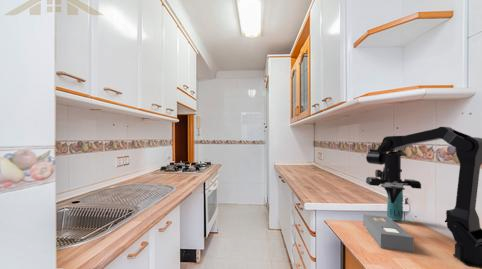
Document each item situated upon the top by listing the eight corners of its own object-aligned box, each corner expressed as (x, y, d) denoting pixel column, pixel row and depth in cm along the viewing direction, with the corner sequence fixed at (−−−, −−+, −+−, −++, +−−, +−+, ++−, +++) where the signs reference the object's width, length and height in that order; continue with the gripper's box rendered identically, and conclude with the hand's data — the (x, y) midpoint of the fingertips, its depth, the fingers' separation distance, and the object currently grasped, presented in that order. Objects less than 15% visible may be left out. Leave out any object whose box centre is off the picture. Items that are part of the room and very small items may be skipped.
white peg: (394, 241, 84) (395, 228, 84) (399, 246, 80) (399, 233, 80) (382, 240, 85) (383, 227, 85) (387, 244, 81) (387, 231, 81)
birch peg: (383, 229, 96) (383, 218, 96) (386, 233, 92) (386, 221, 92) (372, 228, 97) (372, 217, 97) (375, 232, 93) (375, 220, 93)
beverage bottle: (387, 221, 106) (387, 179, 107) (386, 217, 112) (386, 177, 113) (404, 224, 103) (404, 180, 104) (401, 220, 109) (402, 178, 110)
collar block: (388, 228, 98) (388, 216, 98) (413, 252, 76) (413, 237, 77) (363, 225, 100) (363, 214, 100) (380, 247, 79) (380, 233, 79)
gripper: (408, 165, 100) (408, 200, 100) (362, 163, 105) (362, 196, 104) (422, 168, 89) (421, 207, 89) (370, 165, 94) (369, 202, 94)
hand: (392, 203), depth 94 cm, fingers closed
